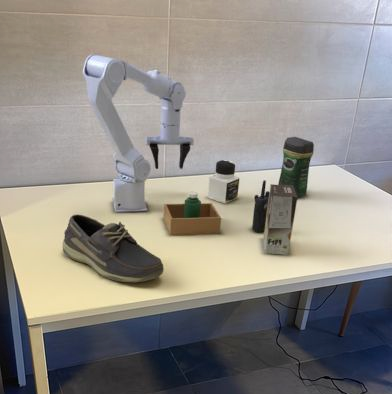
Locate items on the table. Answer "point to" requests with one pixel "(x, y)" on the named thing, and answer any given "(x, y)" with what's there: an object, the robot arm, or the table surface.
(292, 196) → the coffee box
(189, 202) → the bottle
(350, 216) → the table surface
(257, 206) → the two-way radio
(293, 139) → the coffee jar
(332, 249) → the table surface
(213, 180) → the medicine bottle
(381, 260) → the table surface
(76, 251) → the boat shoe
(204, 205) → the box
